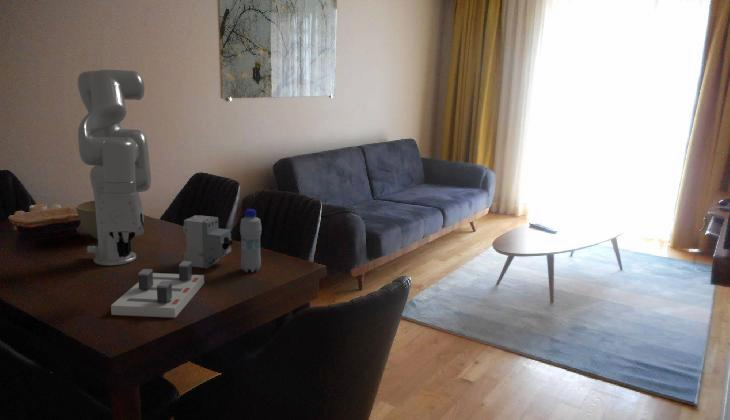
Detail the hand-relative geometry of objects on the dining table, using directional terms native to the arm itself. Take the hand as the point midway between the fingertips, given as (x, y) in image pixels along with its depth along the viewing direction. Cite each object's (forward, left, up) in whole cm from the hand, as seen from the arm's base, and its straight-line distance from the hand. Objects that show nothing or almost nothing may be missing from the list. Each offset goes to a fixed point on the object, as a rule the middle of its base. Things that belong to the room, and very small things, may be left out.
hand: (124, 255), depth 142 cm
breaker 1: (+13, -7, -9) cm, 18 cm away
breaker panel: (+9, +1, -12) cm, 15 cm away
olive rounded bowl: (-32, +55, -12) cm, 64 cm away
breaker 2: (+13, +9, -9) cm, 18 cm away
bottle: (+28, +26, -12) cm, 40 cm away
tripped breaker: (+5, +1, -9) cm, 10 cm away
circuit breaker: (+14, +30, -12) cm, 35 cm away
